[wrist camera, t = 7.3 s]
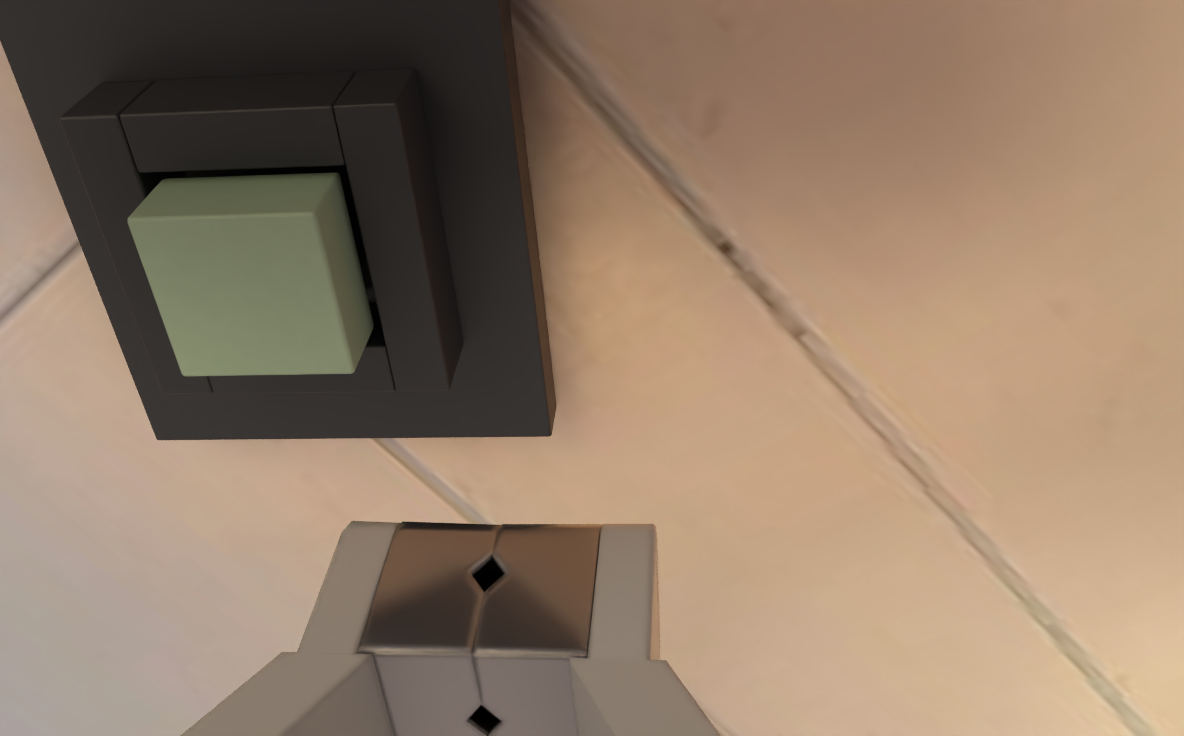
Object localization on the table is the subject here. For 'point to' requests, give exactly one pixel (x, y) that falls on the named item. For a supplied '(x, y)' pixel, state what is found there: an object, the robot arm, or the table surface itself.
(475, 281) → the dark grey stepped base
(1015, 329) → the table surface
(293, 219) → the key
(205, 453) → the table surface
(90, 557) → the table surface
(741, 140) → the table surface
